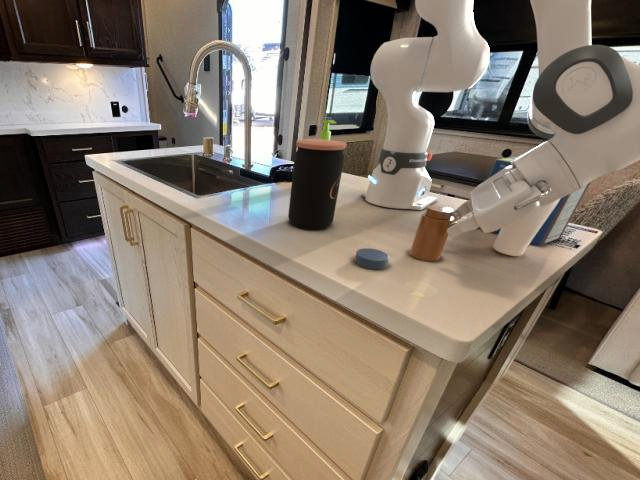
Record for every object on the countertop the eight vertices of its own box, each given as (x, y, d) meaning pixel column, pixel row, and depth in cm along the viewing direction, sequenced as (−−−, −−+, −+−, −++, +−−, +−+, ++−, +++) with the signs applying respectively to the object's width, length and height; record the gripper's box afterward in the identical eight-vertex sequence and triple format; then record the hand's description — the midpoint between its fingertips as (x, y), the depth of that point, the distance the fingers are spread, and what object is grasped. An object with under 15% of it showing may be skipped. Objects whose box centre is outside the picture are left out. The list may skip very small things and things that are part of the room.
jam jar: (418, 248, 70) (433, 202, 65) (444, 257, 67) (462, 209, 62) (404, 254, 67) (418, 207, 62) (431, 263, 64) (448, 214, 59)
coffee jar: (332, 233, 76) (348, 146, 67) (285, 228, 78) (294, 143, 69) (331, 218, 85) (345, 140, 76) (289, 214, 87) (297, 138, 78)
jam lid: (362, 270, 60) (364, 261, 60) (349, 256, 65) (351, 248, 64) (392, 269, 61) (394, 260, 60) (377, 256, 66) (379, 247, 65)
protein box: (490, 219, 88) (517, 156, 80) (560, 239, 77) (600, 167, 69) (468, 225, 84) (494, 158, 76) (539, 246, 73) (579, 171, 64)
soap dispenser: (316, 187, 114) (326, 120, 104) (306, 182, 120) (314, 119, 109) (331, 186, 116) (342, 120, 105) (321, 182, 121) (330, 119, 111)
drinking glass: (511, 246, 72) (551, 173, 64) (534, 260, 67) (581, 182, 59) (480, 244, 72) (517, 170, 64) (501, 257, 66) (544, 178, 58)
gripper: (566, 209, 46) (458, 259, 55) (538, 182, 61) (457, 224, 70) (541, 171, 45) (437, 227, 54) (519, 153, 61) (441, 199, 70)
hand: (448, 225), depth 62 cm, fingers open, 8 cm apart
